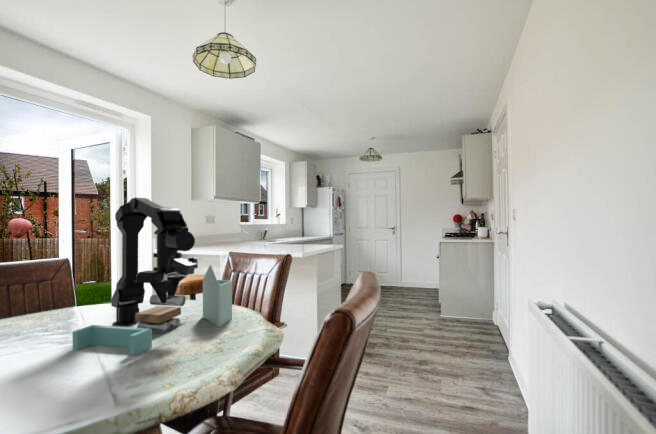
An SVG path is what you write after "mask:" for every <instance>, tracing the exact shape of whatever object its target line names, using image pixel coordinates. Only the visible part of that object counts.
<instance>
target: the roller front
mask: <svg viewBox="0 0 656 434" xmlns="http://www.w3.org/2000/svg"><path fill="white" fill-rule="evenodd" d="M136 328H149V329H152V331H163V332H165V333H167V332H169V331H170V330H171V329H170V328H171V324H170V323H169V322H161V323H151V322H137V325H136Z"/></svg>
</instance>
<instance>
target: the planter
mask: <svg viewBox="0 0 656 434" xmlns="http://www.w3.org/2000/svg"><path fill="white" fill-rule="evenodd" d="M232 282H233V281H232V280H231V279H217V277H216V274H215V272H214V269H213V265H212V264H210V265H209V266H208V268H207V271H206V272H205V274H204V277H203V278H202V318H204V319H206V320H207V321H209V322H210V323H211V324H213V325H214V326H216V327H218V328H220V327H222V326H224V324H226V323H227V322H229V321H230V320H232V318H233V285H232V284H233V283H232Z"/></svg>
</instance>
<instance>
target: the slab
mask: <svg viewBox="0 0 656 434" xmlns="http://www.w3.org/2000/svg"><path fill="white" fill-rule="evenodd" d="M181 314H182V306H168V305H156V306H154V307H151V308H149V309H145V310H142V311H139V313H136V314H135V323H139V322H151V323H161V322H164V321H166V320H169V319H171V318H177V317H178V316H182V315H181Z"/></svg>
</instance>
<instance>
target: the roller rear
mask: <svg viewBox="0 0 656 434" xmlns="http://www.w3.org/2000/svg"><path fill="white" fill-rule="evenodd" d="M164 322H169V323H170V324H171V327H175V328H176V329H177V328H178V327H180V326H181V325H180V324H181V319H180V317H174V318H171V319H169V320H166V321H164ZM175 328H174V329H175Z"/></svg>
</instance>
